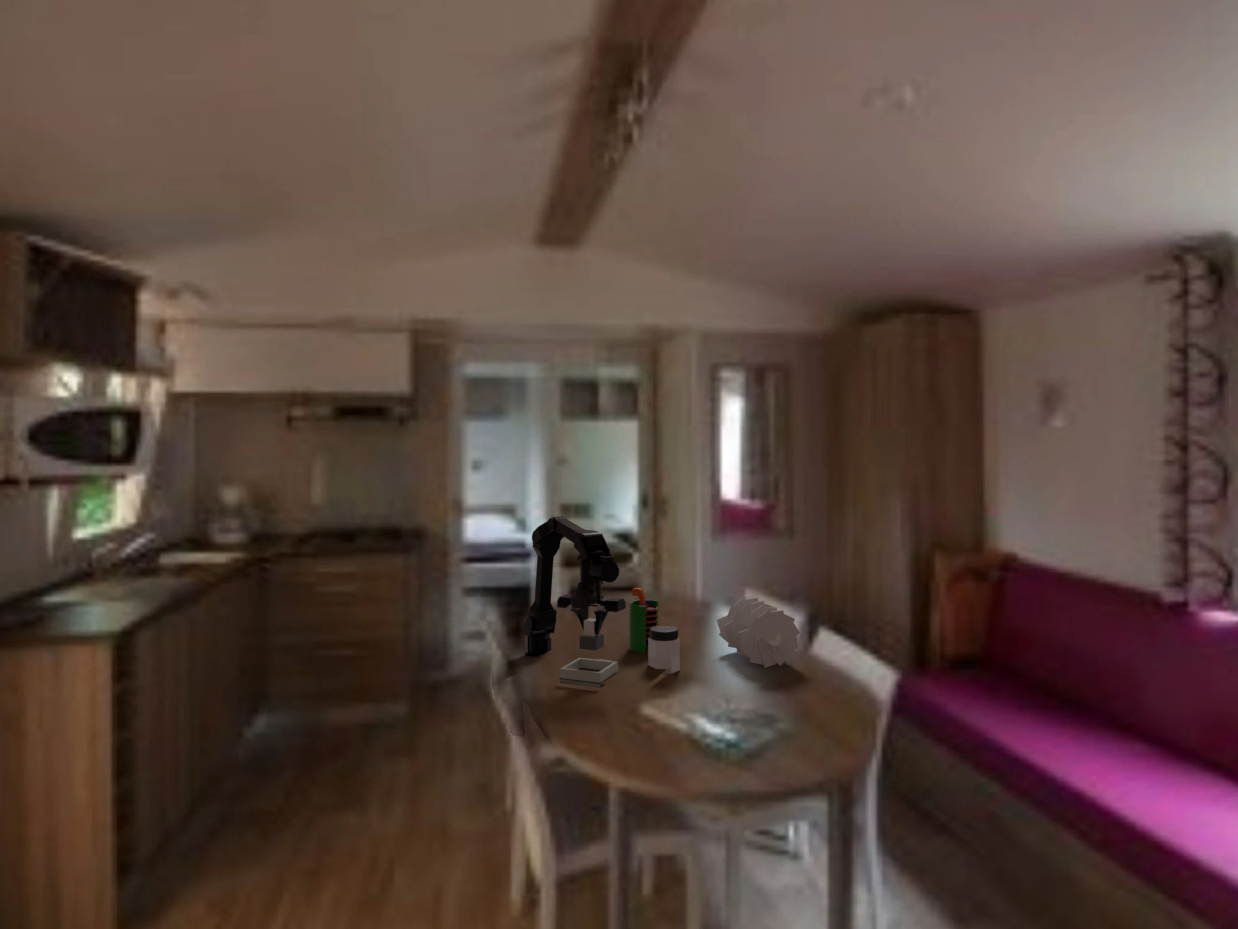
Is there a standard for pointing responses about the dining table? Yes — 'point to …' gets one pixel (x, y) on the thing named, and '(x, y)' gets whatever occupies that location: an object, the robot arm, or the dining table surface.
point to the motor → (641, 621)
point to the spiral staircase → (759, 632)
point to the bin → (588, 672)
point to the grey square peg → (591, 636)
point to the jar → (664, 649)
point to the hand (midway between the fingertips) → (591, 634)
